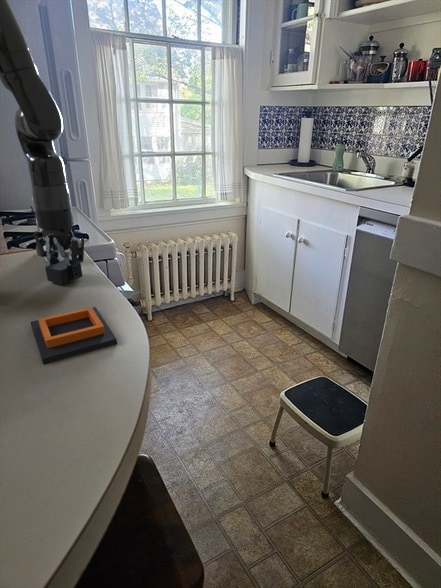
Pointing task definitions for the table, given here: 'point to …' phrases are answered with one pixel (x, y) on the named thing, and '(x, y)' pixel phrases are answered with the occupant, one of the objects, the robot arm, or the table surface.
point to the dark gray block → (60, 272)
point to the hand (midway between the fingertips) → (65, 276)
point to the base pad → (71, 334)
